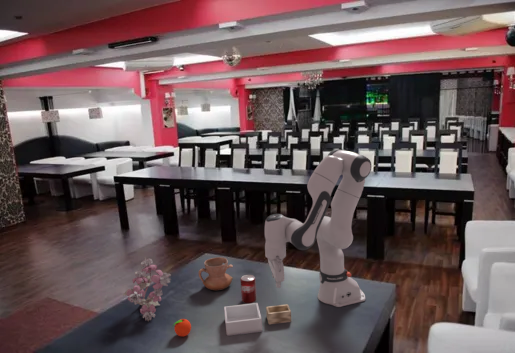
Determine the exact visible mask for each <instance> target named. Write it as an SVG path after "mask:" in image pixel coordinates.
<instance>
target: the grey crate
mask: <svg viewBox="0 0 515 353" xmlns="http://www.w3.org/2000/svg"><path fill="white" fill-rule="evenodd" d="M223 308H224V319H225V320H224V321H225V330H226V331H225V333H226V337H230V336H237V335H244V334H245V335H247V334H253V333H254V334H255V333H260V332H263V320H262V315H261V312H260V307H259V303H258V302H254V303H252V304H246V303H243V304H236V305H229V306H228V305H227V306H224V307H223Z"/></svg>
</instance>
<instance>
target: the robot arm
mask: <svg viewBox="0 0 515 353" xmlns="http://www.w3.org/2000/svg"><path fill="white" fill-rule="evenodd" d="M318 163H319V162H318ZM371 171H372V162H371V159H369V157H367V156H365V155H364V154H363V155H362V154H360V153H357V152H354V151H349V150H345V149H344V150H343V149H339V148H336V149H333V150H331V151H329V153H328V155H326V156H325V157H324V158H322V160H321V161H320V163H319V164H318V165H317V166H316V168H315V169H314V170H313V172H312V174H311V175H310V178H309V179H308V182H307V184H306V186H307V191H308V193H309V194H308V195H310V197H311V198H312V205H311V208H310V210H309V212H308V215H307V218H306V219H305V221H304V222H302V221H300V220H298V219H296V218H290V217H287V216H284V215H283V214H281V213H273V214H270V215H269V216H267V217H266V219H265V222H264V239H265V243H264V252H265V254H264V255H265V258H267V262H268V265H269V268H270V270H271V277H272V278H273V279H274V280H275V287H276V288H277V289H280V288H281V287H282V286H281V284H282V282H284V281H285V268H284V267H285V266H284V262H283V260H284V259H285V258H286V257H287V251H286V250H287V248H286V247H287V246H286V245H287V243H291V244H292V245H293V246H294V247H295V248H296V249H297V250H299V251H306V250H308V249H310V248H312V246H313V245H314V244H315V243H316V242H317V246H318V251H319V260H320V261H319V262H320V268H319V273H318V274H319V277H318V278H319V282H320V283H319V289H318V294H317V299H318V300H319V301H320V302H321V303H324V304H326V305H331V306H334V307H336V308H341V307H344V306H349V305H353V304H357V303H361V302H365V301H366V295H365V293H364V292H363V290H362V289H361V288H360V286H359V284H358V282H357V281H356V280H355V279H354V278H352V273H351V271H348V270H347V269H346V268H345V256H344V252H343V250H345V249H347V248H349V246H351V245H352V243H353V240H354V235H353V230H352V224H353V217H354V213H355V210H356V207H357V205H358V203H359V200H360V198H361V197H362V194H363V191H364V187H365V183H366V179H367V177H368V176H369V175H370V173H371ZM341 176H342V179H341V180H340V182H339V184H338V187H337V189H336V191H335V193H334V196H333V198H332V200H331V196H332V193H333V191H334V189H335V187H336V186H337V183H338V180H339V179H340V177H341ZM329 207H331V216H327V215H326V214H327V211H328V208H329Z"/></svg>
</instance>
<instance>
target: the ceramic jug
mask: <svg viewBox="0 0 515 353" xmlns="http://www.w3.org/2000/svg"><path fill="white" fill-rule="evenodd" d="M228 263H229V260H228V259H227V257H223V256H221V257H220V256H219V257H212V258H208V259H206V260H205V261H204V263H203V264H204V267H205V268H201V269H199V270H198V277H199V279H200V280H201V282H202V284H203V285H204V287H205V288H206V289H208V290H211V291H221V290H225V289H227V288H228V287H229V286H230V285H231V284H232V280H233V276H231V275H230V274H228V273H226V272H227V270H228V269H230V268H233V264H228ZM202 272H204V273H206V274H208V275H207V276H206V277H205V278H203V276H202Z"/></svg>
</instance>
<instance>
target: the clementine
mask: <svg viewBox="0 0 515 353" xmlns="http://www.w3.org/2000/svg"><path fill="white" fill-rule="evenodd" d="M173 327H174V332H175V334H176V335H177V336H178V337H183V338H184V337H187V336H188V335H189V334H190V333H191V330H192V324H191V322H190V321H189V320H188V319H186V318H181V319H179V320H177V321H176V322H174V323H173V325H172V327H171V328H173Z"/></svg>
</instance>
